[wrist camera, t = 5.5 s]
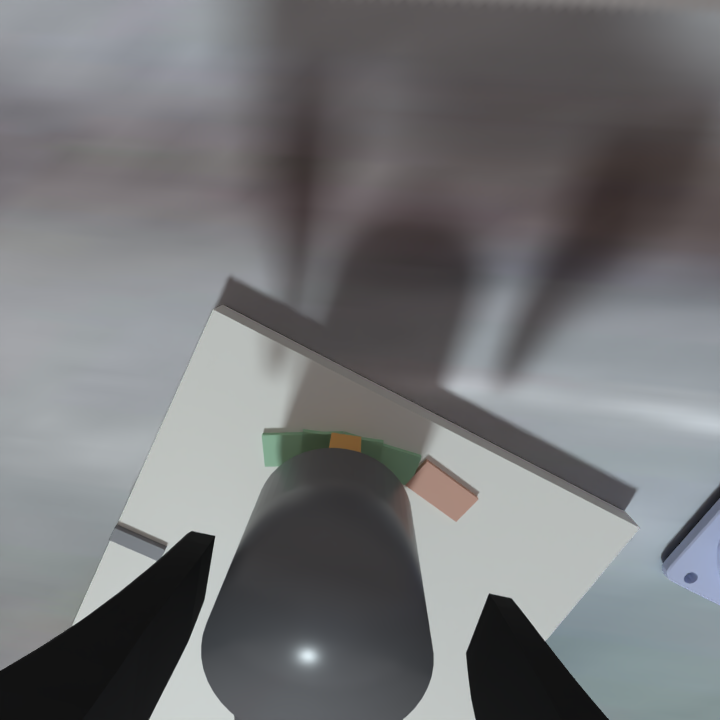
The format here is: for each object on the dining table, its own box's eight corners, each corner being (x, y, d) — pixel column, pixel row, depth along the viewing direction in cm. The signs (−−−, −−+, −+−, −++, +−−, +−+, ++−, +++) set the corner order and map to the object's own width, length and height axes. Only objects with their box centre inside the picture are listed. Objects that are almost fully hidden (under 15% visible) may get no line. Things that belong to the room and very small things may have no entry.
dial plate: (625, 511, 17) (643, 531, 16) (386, 804, 22) (387, 835, 21) (222, 304, 15) (210, 310, 14) (56, 674, 20) (37, 701, 19)
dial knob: (370, 683, 18) (371, 908, 12) (245, 667, 18) (184, 886, 12) (421, 442, 15) (456, 583, 9) (272, 420, 15) (208, 547, 9)
